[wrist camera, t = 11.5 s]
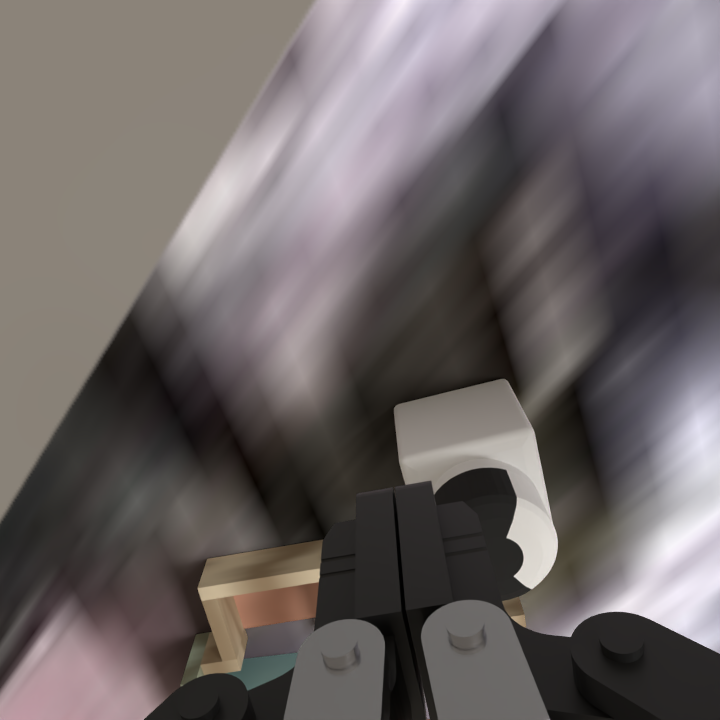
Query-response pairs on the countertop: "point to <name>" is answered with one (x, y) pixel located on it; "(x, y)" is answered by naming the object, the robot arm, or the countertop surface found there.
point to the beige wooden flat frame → (261, 601)
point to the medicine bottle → (484, 474)
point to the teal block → (264, 669)
